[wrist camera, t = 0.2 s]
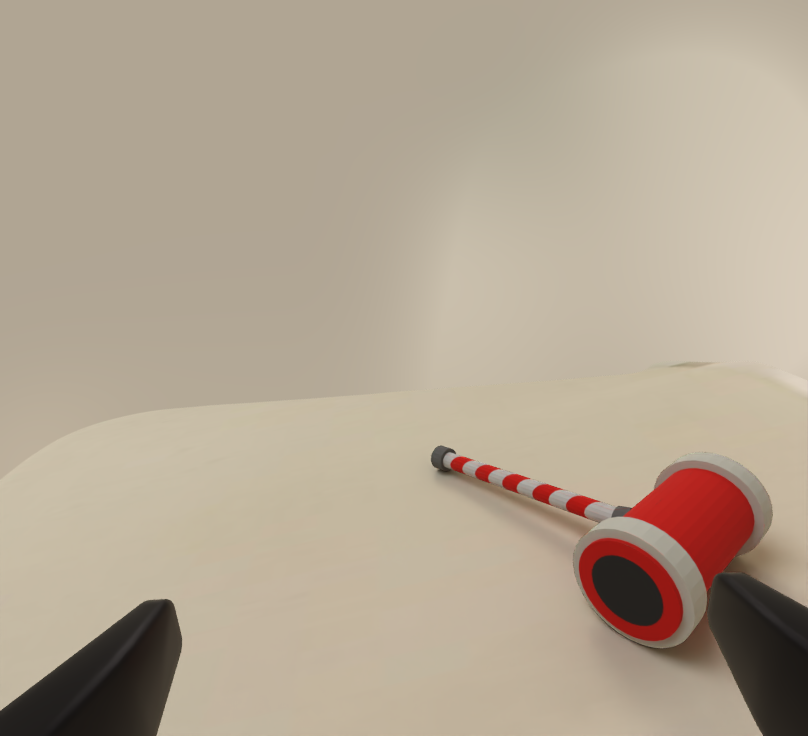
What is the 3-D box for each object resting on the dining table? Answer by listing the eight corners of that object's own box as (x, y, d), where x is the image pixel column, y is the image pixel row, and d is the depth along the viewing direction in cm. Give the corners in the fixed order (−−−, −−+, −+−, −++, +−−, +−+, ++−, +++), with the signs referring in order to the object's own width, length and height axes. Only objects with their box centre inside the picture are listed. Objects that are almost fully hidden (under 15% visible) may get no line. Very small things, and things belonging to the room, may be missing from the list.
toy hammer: (385, 494, 42) (380, 422, 40) (482, 444, 49) (482, 380, 47) (684, 677, 25) (701, 570, 23) (764, 561, 33) (783, 471, 30)
